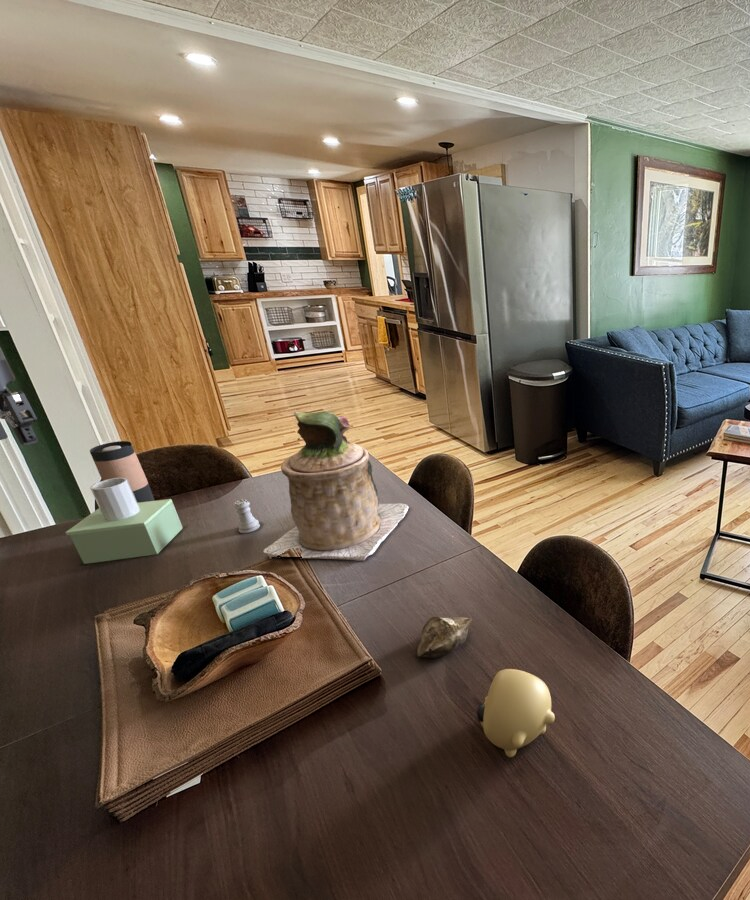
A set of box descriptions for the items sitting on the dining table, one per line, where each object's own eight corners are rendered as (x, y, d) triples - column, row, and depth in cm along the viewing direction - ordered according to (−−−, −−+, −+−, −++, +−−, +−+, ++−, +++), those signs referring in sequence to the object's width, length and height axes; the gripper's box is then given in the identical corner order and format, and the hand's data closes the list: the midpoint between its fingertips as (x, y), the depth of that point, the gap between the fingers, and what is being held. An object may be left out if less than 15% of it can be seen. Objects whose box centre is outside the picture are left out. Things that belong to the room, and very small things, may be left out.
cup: (98, 522, 105) (83, 490, 102) (115, 509, 110) (101, 479, 107) (130, 519, 107) (116, 487, 104) (145, 506, 112) (132, 476, 109)
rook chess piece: (262, 523, 121) (254, 496, 118) (258, 532, 117) (249, 504, 114) (242, 526, 120) (232, 499, 117) (236, 535, 116) (227, 507, 113)
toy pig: (542, 727, 73) (514, 661, 76) (575, 722, 64) (541, 647, 67) (485, 768, 67) (456, 694, 70) (512, 767, 58) (478, 684, 61)
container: (84, 565, 105) (69, 535, 102) (117, 537, 115) (104, 509, 112) (157, 555, 108) (145, 526, 105) (183, 529, 119) (172, 501, 116)
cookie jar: (369, 563, 106) (339, 430, 94) (261, 561, 106) (217, 428, 94) (412, 508, 129) (392, 395, 116) (323, 507, 129) (294, 394, 117)
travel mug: (113, 522, 122) (80, 450, 114) (145, 507, 129) (116, 439, 121) (135, 526, 120) (103, 453, 112) (167, 511, 127) (139, 442, 119)
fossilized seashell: (426, 666, 77) (482, 643, 83) (419, 624, 77) (475, 606, 84) (411, 662, 82) (465, 641, 89) (404, 623, 83) (458, 606, 90)
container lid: (66, 535, 102) (64, 532, 102) (101, 509, 112) (100, 506, 112) (145, 525, 105) (143, 522, 105) (172, 501, 116) (171, 498, 115)
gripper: (-84, 361, 84) (-38, 445, 91) (-30, 366, 81) (14, 452, 87) (-25, 353, 91) (15, 432, 97) (28, 357, 88) (65, 438, 94)
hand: (15, 441), depth 92 cm, fingers open, 8 cm apart
